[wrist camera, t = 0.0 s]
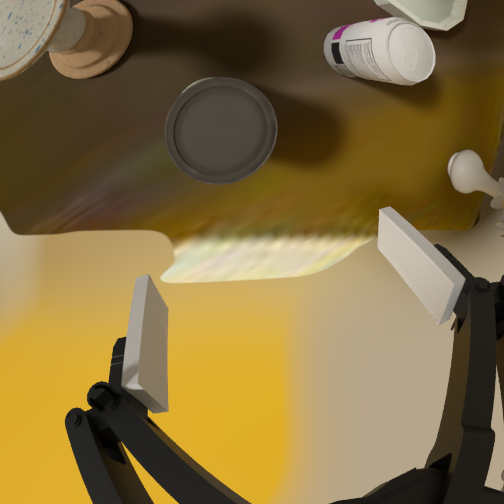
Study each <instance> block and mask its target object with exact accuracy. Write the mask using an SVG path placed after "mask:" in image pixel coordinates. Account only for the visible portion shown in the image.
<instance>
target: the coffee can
mask: <svg viewBox="0 0 504 504" xmlns="http://www.w3.org/2000/svg"><path fill="white" fill-rule="evenodd" d="M277 132H278V124H277V118H276V114H275V111H274V109H273V107H272V105H271V103H270V101H269V100H268V99H267V97H266V96H265V95H264V94H263V93H262V92H261V91H260V90H259V89H257V88H256V87H254V86H253V85H251V84H249V83H247V82H245V81H242V80H239V79H236V78H229V77H218V78H205V79H201V80H199V81H196V82H194V83H193V84H191V85H190V86H188V87H187V88H186V89H185V90H184V91H183V92H182V94H181V95H180V96H179V97H178V98H177V100H176V101H175V102H174V104H173V105H172V107H171V109H170V111H169V113H168V115H167V118H166V123H165V135H164V136H165V143H166V147H167V150H168V153H169V155H170V157H171V159H172V160H173V162H174V163H175V164H176V166H177V167H178V168H179V169H180V170H181V171H182V172H184V173H185V174H186V175H188V176H189V177H191V178H193V179H195V180H198V181H200V182H204V183H208V184H229V183H234V182H237V181H240V180H243V179H245V178H247V177H249V176H250V175H252V174H253V173H255V172H256V171H257V170H259V169H260V168H261V167H262V166H263V165H264V163H265V162H266V161H267V160H268V158H269V157H270V155H271V153H272V151H273V149H274V146H275V143H276V139H277Z"/></svg>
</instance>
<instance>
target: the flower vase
mask: <svg viewBox="0 0 504 504" xmlns="http://www.w3.org/2000/svg"><path fill="white" fill-rule="evenodd" d="M448 174H449V177H450V179H451V182H452V185H453V187H454V188H455V189H456V190H457V191H458V192H461V193H472V192H474V191H482V192H485V193H487V194H489V195H491V196H492V197H494V199H493V200H492V201H491V203H490V206H491V207H492V208H495V209H500V208H504V178H502V177H501V178H500V179H499V181H498V182H497V181H496V180H494V179H493V178H492V177H491V176H490V175H489V174H488V173H487V172H486V170H485V169H484V165H483V162H482V160H481V158H480V157H479V155H478V154H477V153H476V152H474V151H473V150H463V151H461V152H457V153H455V154H453V155H452V157H451V158H450V160H449V163H448ZM501 220H502V221H501V222H498V223H497V224H496V226H497V227H498V228H499V229H500V230H503V231H504V210H503V212H502V215H501ZM502 237H504V235H502Z"/></svg>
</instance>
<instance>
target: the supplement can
mask: <svg viewBox="0 0 504 504" xmlns="http://www.w3.org/2000/svg"><path fill="white" fill-rule="evenodd" d="M324 53H325V56H326V59H327V61H328V63H329V64H330V66H331V67H332V68H333V69H334V70H335V71H337V72H338V73H339V74H341V75H344V76H347V77H354V78H362V79H370V80H376V81H383V82H389V83H395V84H400V85H414V84H416V83H419V82H421V81H423V80H425V79H427V78H428V77H429V76H430V74H431V73H432V71H433V69H434V66H435V51H434V47H433V44H432V42H431V40H430V38H429V36H428V35H427V34H426V32H425V31H424V30H423V29H422V28H421V27H419V26H417V25H416V24H414V23H411V22H409V21H408V20H406V19H403V18H397V17H391V18H384V19H377V20H371V21H365V22H359V23H354V24H349V25H345V26H340V27H338V28H335V29H333V30H332V31H331V32H330V33H329V34H328V35H327V37H326V39H325V42H324Z"/></svg>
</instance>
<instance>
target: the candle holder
mask: <svg viewBox="0 0 504 504" xmlns="http://www.w3.org/2000/svg"><path fill="white" fill-rule="evenodd" d="M69 6H70V0H0V81H4V80H8V79H10V78H13V77H15V76H17V75H19V74H21V73H22V72H24V71H25V70H27V69H28V68H29V67H31V66H32V65H33V64H34V63H35V62H36V61H37V60H38V59H39V58H40V57H41V56H42V55H43V54H44V53H45V52H46V51H49V54H50V58H51V61H52V63H53V65H54V67H55V68H56V69H57V70H58V71H59V72H60V73H61V74H63V75H65V76H67V77H70V78H74V79H86V78H90V77H94V76H97V75H99V74H101V73H103V72H105V71H106V70H108V69H109V68H111V67H112V66H113V65H114V64H115V63H116V62H117V61H118V60H119V59H120V58H121V57H122V55H123V54H124V53H125V51H126V49H127V47H128V45H129V43H130V40H131V37H132V32H133V22H132V17H131V14H130V12H129V11H128V9H127V8H126V7H125V6H124V4H122V3H121V2H119V1H118V0H84V1H82V2H80V3H78V4H76V5H75V6H73V7H69Z"/></svg>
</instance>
